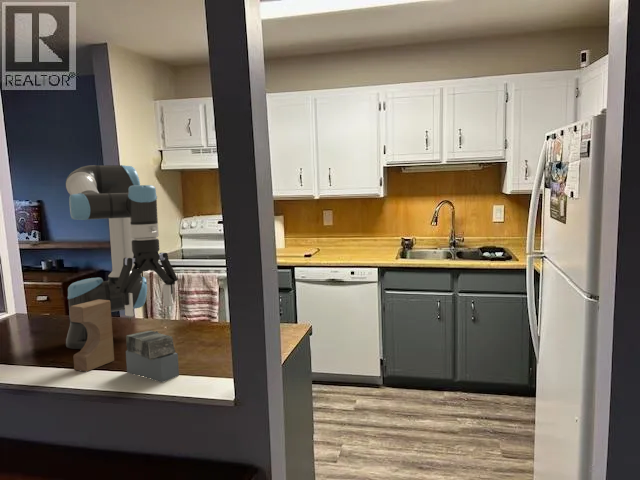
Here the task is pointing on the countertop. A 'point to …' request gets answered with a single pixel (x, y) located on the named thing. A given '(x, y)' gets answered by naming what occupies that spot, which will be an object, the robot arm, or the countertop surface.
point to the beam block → (153, 366)
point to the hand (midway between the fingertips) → (149, 310)
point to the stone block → (150, 344)
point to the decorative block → (94, 334)
